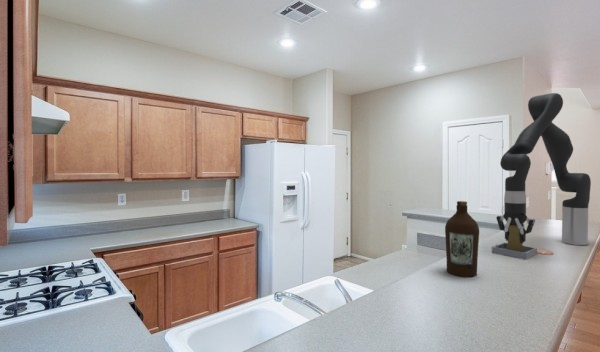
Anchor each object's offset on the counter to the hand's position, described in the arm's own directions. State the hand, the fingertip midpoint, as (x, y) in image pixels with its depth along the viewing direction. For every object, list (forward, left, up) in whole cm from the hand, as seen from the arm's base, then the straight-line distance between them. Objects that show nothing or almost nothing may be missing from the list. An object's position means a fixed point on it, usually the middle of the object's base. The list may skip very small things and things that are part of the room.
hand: (514, 241), depth 132 cm
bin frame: (0, 0, -5) cm, 5 cm away
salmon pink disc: (-11, +7, -5) cm, 14 cm away
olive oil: (+41, -2, -5) cm, 42 cm away
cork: (0, 0, -4) cm, 4 cm away
